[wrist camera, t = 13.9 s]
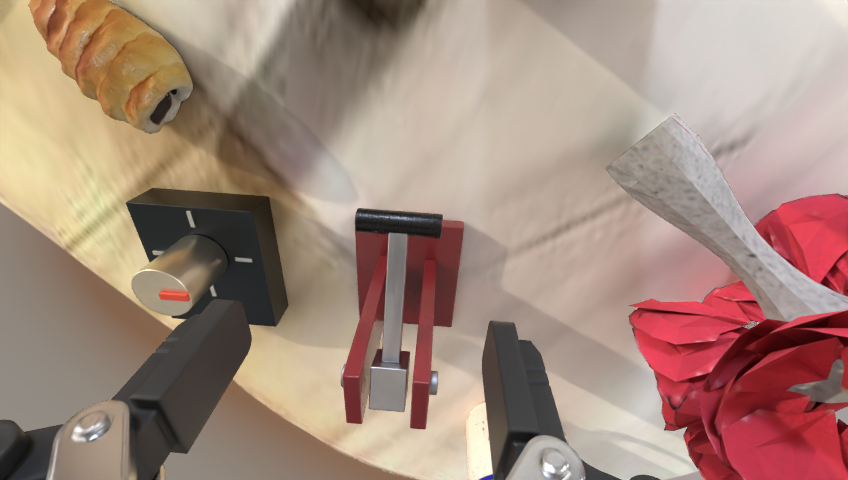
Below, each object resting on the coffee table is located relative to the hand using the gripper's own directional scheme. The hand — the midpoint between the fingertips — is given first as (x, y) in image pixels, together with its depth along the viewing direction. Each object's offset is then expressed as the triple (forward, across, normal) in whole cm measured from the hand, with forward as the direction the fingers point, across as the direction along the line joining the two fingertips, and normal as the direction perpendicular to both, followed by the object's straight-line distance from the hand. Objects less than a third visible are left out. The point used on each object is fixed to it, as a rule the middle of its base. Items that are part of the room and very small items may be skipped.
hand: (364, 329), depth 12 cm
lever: (+9, 0, +7) cm, 11 cm away
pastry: (+19, +20, -5) cm, 28 cm away
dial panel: (+18, +17, +10) cm, 27 cm away
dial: (+15, +17, +9) cm, 25 cm away
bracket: (+18, 0, +11) cm, 21 cm away
